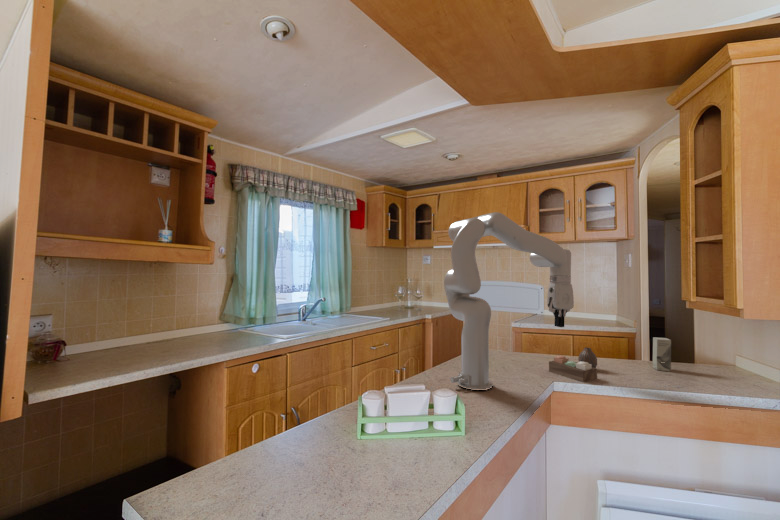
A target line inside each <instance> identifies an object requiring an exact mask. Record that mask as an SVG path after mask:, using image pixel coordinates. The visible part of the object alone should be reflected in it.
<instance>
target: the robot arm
mask: <svg viewBox="0 0 780 520" xmlns="http://www.w3.org/2000/svg"><path fill="white" fill-rule="evenodd" d="M447 230H448V231H447V234H448V237H449V239H450V240H451V241H452V242H453V243H452V245H451V250H450V258H451V259H450V260H451V264H452V268H451V269H449V270H448V271H447V272H446V274H445V276H444V279H443V286H444V291H445V296H446V299H447V303H448V308H449V311H450V313H451V315H452V316H453V318H455V319H456V320H458V321H462V322H464V323H463V326H462V330H461V371H460V372H458V375H457V376H450V382H451V383H452V384H453V383H458V384H459V385H461V386H463V387H466V388H471V389H486V388H490V387H492V386H493V387H494V382H493V381H492V380H490V378H489V377H490V376H489V375H490V371H489V369H490V366H489V362H490V361H489V359H490V358H489V355H490V354H489V353H490V352H489V351H490V350H489V349H490V348H489V347H490V345H489V341H490V340H489V336H490V335H489V334H490V333H489V332H490V323H491V318H492V308H491V306H490V304H489V302H487V301H486V300H485V299H483V298H481V297H476V296H470V295H474V294H477V293H478V292H479V291H480V290H481V288H482V287H481V286H482V281H481V276H480V271H479V268H478V264H477V258H476V249H477V246H478V244H479V243H480V240H481V239H482V238H483V237H490V236H492V237H495V238H496V239H497V240H499V241H500V242H501V243H503V244H505V245H506V246H507V247H509V248H510V249H512V250H516V251H520V252H525V253H528V254H529V261H530V263H531V264H532V265H533V266H535V267H539V268H549V284H548V289H547V296H546V297H547V298H546V300H547V301H546V303H547V308H548V311H549V312H550V313H552V314H553V317H554V326H555V327H558V328H564V327H565V317H566V316H567V313H569V312H571V310H572V309H574V306H575V305H574V302H575V301H574V299H575V297H574V288H573V285H572V277H571V276H572V252H571V250H570V249H567V248H566V249H565V248H563V247H562V245H561V246H560V244H558V243H557V242H555V241H554V240H552V239H550V238H549V237H545V236H543V235H540V234H538V233H536V232H532V231H529V230H526V228H523V227H522V226H521V225H519V224H518V223H517V222H515V221H513V220H512V219H510V218H509V217H508V216H506V215H505V214H504V213H502V212H499V211H497V212H496V211H494V212H490V213H484V214H482V215H478V216H473V217H471V218H470V217H469V218H465V219H462V220H457V221H455V222H453V223H451V224H450V226H449V227H448V229H447ZM458 384H457V385H458Z"/></svg>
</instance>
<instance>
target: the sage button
mask: <svg viewBox="0 0 780 520" xmlns="http://www.w3.org/2000/svg"><path fill="white" fill-rule="evenodd" d="M576 363H578V361H573V360H569V361H567V362H566V363H565V365H568V366H571V367H576Z"/></svg>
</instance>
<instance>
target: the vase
mask: <svg viewBox="0 0 780 520" xmlns="http://www.w3.org/2000/svg"><path fill="white" fill-rule="evenodd" d="M577 360H578V361H577V363H579V362H580V361H583V362H588V363H589V364H591V365H592V367H593V368H597V366H598V358H597V355H596V354H595V353H594V352H593V350H592V348H590V347H584V348H583V349H582V351H581V352H580V353H579V355H578V359H577Z"/></svg>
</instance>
